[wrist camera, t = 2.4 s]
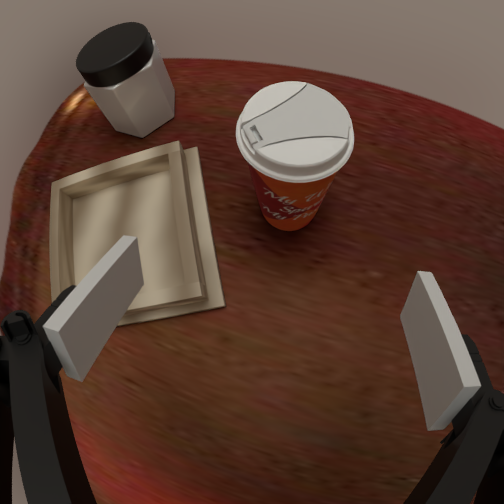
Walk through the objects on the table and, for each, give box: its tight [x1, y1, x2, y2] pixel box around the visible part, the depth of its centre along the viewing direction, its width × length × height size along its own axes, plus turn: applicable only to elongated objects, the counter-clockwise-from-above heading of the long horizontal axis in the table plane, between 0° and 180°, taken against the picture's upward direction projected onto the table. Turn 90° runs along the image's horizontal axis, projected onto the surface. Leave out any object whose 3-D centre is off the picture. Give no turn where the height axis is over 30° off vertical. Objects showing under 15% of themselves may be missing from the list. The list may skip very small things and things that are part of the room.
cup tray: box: [50, 141, 226, 326], centre depth 30 cm, size 18×17×4 cm
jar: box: [76, 22, 175, 138], centre depth 31 cm, size 9×8×12 cm
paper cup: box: [236, 82, 354, 231], centre depth 25 cm, size 8×8×14 cm
